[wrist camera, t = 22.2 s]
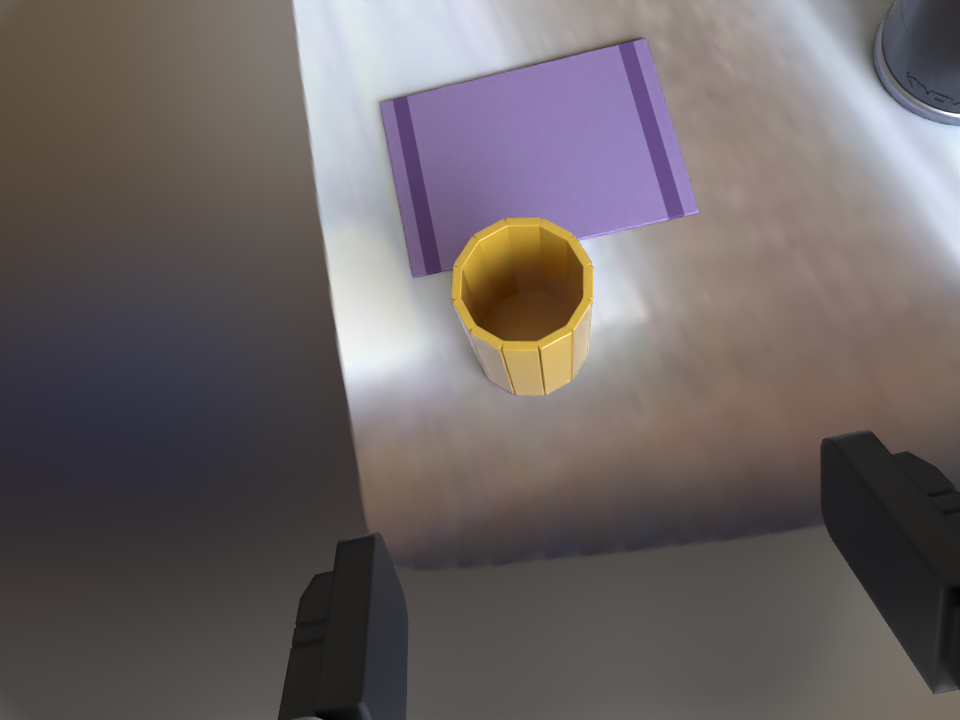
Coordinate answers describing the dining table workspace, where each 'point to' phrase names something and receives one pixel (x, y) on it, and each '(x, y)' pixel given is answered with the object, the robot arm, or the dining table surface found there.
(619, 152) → the cloth
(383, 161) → the dining table surface
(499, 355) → the tumbler
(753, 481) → the dining table surface
